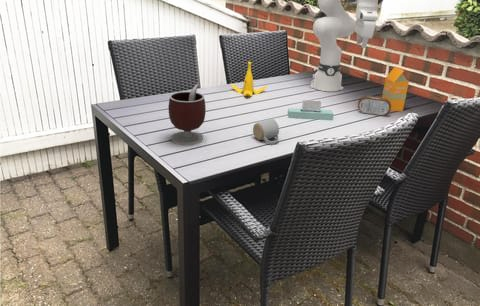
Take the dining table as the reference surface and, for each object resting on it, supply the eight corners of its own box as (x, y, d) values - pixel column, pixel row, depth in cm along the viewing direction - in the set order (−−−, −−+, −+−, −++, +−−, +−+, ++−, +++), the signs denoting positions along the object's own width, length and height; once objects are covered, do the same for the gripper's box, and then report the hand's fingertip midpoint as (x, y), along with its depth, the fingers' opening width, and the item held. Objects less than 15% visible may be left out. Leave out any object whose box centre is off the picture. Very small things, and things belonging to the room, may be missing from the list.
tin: (389, 115, 199) (392, 98, 196) (389, 117, 197) (392, 100, 193) (356, 111, 203) (359, 94, 200) (356, 113, 201) (359, 96, 197)
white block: (301, 117, 192) (303, 101, 188) (301, 115, 193) (302, 100, 190) (319, 118, 191) (321, 102, 188) (318, 116, 193) (320, 101, 190)
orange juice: (394, 105, 214) (402, 66, 206) (403, 110, 206) (411, 70, 198) (380, 105, 213) (387, 66, 205) (388, 111, 205) (396, 70, 197)
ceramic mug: (251, 137, 168) (252, 119, 165) (267, 133, 172) (268, 115, 169) (266, 147, 160) (268, 128, 157) (283, 142, 164) (285, 124, 161)
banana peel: (246, 99, 212) (248, 67, 205) (230, 89, 228) (231, 58, 221) (274, 96, 219) (277, 64, 212) (257, 87, 235) (258, 57, 228)
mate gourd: (194, 148, 155) (194, 96, 147) (162, 141, 160) (160, 90, 152) (213, 134, 168) (213, 86, 160) (182, 128, 173) (182, 81, 165)
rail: (287, 114, 195) (288, 107, 194) (330, 116, 194) (331, 110, 193) (288, 117, 190) (288, 111, 189) (332, 120, 190) (333, 113, 189)
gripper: (353, 10, 193) (349, 41, 199) (364, 16, 175) (358, 49, 181) (367, 11, 193) (362, 42, 199) (379, 16, 175) (373, 50, 181)
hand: (360, 45), depth 190 cm, fingers open, 8 cm apart
